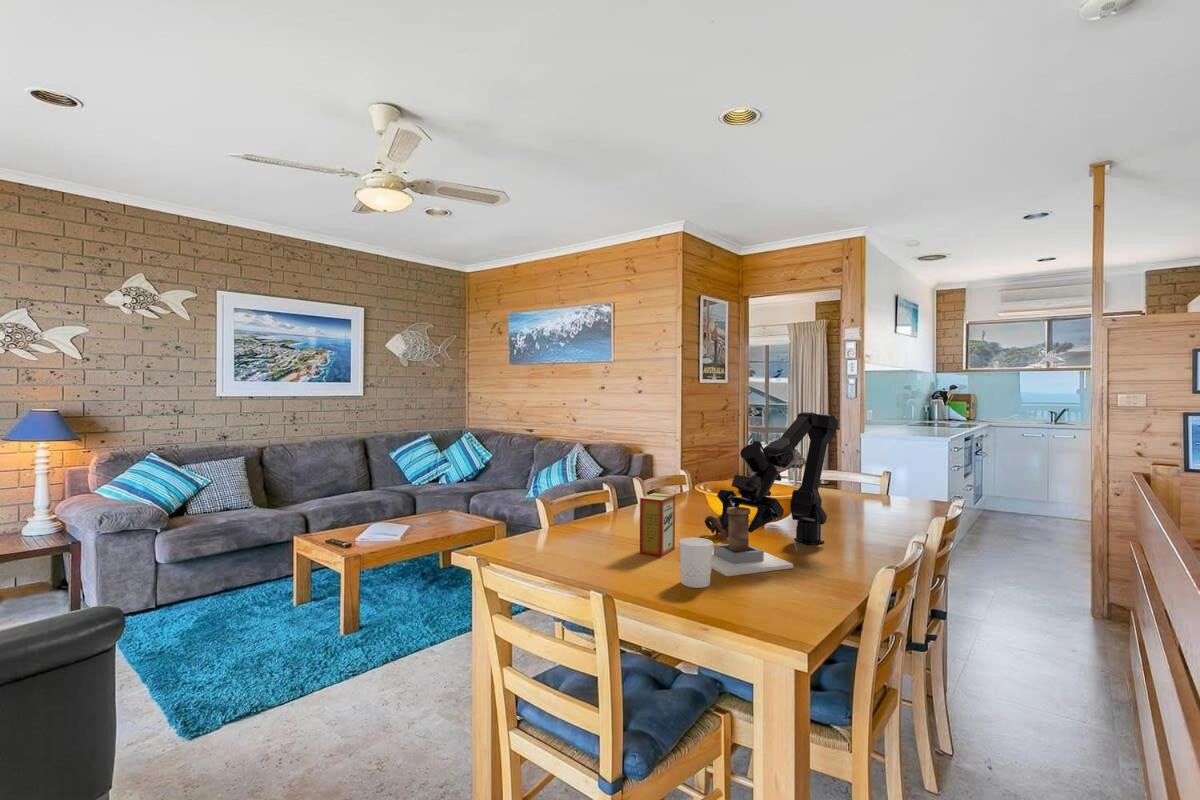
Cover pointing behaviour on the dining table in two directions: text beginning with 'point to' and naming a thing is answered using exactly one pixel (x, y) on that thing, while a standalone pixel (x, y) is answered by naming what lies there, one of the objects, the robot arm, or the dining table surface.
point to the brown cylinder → (738, 529)
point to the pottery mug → (717, 526)
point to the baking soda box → (657, 524)
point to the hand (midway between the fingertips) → (735, 528)
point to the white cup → (695, 561)
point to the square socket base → (745, 561)
